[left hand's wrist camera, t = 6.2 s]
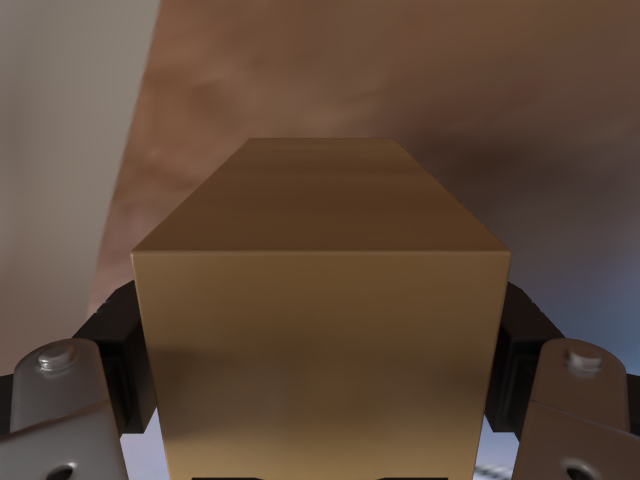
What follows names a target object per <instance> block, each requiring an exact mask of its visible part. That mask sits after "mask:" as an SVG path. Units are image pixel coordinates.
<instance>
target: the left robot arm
mask: <svg viewBox="0 0 640 480" xmlns="http://www.w3.org/2000/svg"><path fill="white" fill-rule="evenodd" d="M156 407H157V405H156V399H155V394H154V388H153V382H152V377H151V371H150V365H149V360H148V354H147V349H146V343H145V337H144V332H143V326H142V320H141V315H140V309H139V303H138V298H137V292H136V287H135V281H134V280H132V281H130V282H129V283H127V284H125V285H123V286H122V287H120V288H118V289H116V290H115V291H114V292H113V293H112V294H111V296H110V297H109V298H108V299H107V300H106V301H105V303H103V304H102V305H101V306H100V307H99V309H98V310H97V313H94V314H93V315H92V316H91V317H90V318H89V319H88V321H87V322H86V323H85V324H84V325H83V326H82V327H81V328H80V329H79V330H78V331H77V333H76V334H75V335H74V336H73V337H72V338H71V339H64V340H59V341H55V342H52V343H49V344H46V345H44V346H42V347H39V348H37V349H35V350H34V351H32V352H30V353H29V354H27V355H26V356H25V357H24V358H22V359H21V360H20V361H19V363H18V364H17V365H16V367H15V369H14V374H10V375H6V376H0V480H129V478H128V474H127V470H126V465H125V461H124V456H123V452H122V448H121V443H120V438H121V436H122V434H144V432H145V430H146V428H147V425H148V423H149V421H150V419H151V417H152V415H153V413H154V411H155V409H156ZM484 414H485V416H486V418H487V420H488V422H489V425H490V427H491V429H492V431H493V432H514V434H515V435H516V437H517V439H518V441H519V448H518V452H517V456H516V461H515V465H514V470H513V474H512V478H511V480H640V376H636V375H631V374H627V373H626V369H625V367H624V365H623V364H622V363H621V361H620V360H619V359H618V358H616V357H615V356H614V355H613V354H611V353H610V352H608V351H606V350H605V349H603V348H601V347H598V346H596V345H594V344H591V343H588V342H585V341H581V340H576V339H568V338H566V337H565V336H564V335H563V334H562V333H561V332H560V331H559V330H558V329H557V328H556V327H555V325H554V324H553V323H552V322H551V321H550V320H549V319H548V318H547V317H546V316H545V314H544V313H543V312H540V309H539V308H538V307H537V306H536V305H535V303H532V300H531V299H530V298H529V297H528V296H527V295H526V294H525V292H524V291H523V290H522V289H520V288H518V287H517V286H515V285H513V284H511V283H510V282H507V288H506V293H505V299H504V305H503V310H502V316H501V322H500V327H499V333H498V339H497V344H496V350H495V356H494V361H493V367H492V373H491V378H490V384H489V390H488V395H487V401H486V407H485V412H484ZM191 480H263V479H259V478H255V477H192V479H191ZM377 480H449V479H448V477H385V478H381V479H377Z"/></svg>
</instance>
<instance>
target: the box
mask: <svg viewBox="0 0 640 480" xmlns="http://www.w3.org/2000/svg"><path fill="white" fill-rule="evenodd" d="M130 258H131V264H132V270H133V275H134V281H135V287H136V292H137V298H138V303H139V309H140V315H141V320H142V326H143V332H144V337H145V343H146V349H147V354H148V360H149V365H150V371H151V377H152V382H153V388H154V394H155V399H156V405H157V411H158V416H159V422H160V428H161V433H162V439H163V444H164V450H165V456H166V461H167V467H168V473H169V478H170V480H191V479H192V477H255V478H259V479H263V480H377V479H381V478H385V477H448V479H449V480H473V474H474V469H475V463H476V457H477V452H478V446H479V440H480V435H481V429H482V424H483V418H484V412H485V407H486V401H487V395H488V390H489V384H490V378H491V373H492V367H493V361H494V356H495V350H496V344H497V339H498V333H499V327H500V322H501V316H502V310H503V305H504V299H505V293H506V288H507V282H508V276H509V271H510V265H511V260H512V252H511V250H510V249H508V248H507V247H506V246H505V245H504V244H503V243H502V242H501V241H500V240H499V239H498V238H497V237H496V236H495V235H494V234H493V233H492V232H491V231H490V230H489V229H488V228H487V227H485V226H484V225H483V224H482V223H481V222H480V221H479V220H478V219H477V218H476V217H475V216H474V215H473V214H472V213H471V212H470V211H469V210H468V209H467V208H466V207H465V206H463V205H462V204H461V203H460V202H459V201H458V200H457V199H456V198H455V197H454V196H453V195H452V194H451V193H450V192H449V191H448V190H447V189H446V188H445V187H444V186H443V185H442V184H440V183H439V182H438V181H437V180H436V179H435V178H434V177H433V176H432V175H431V174H430V173H429V172H428V171H427V170H426V169H425V168H424V167H423V166H422V165H421V164H420V163H418V162H417V161H416V160H415V159H414V158H413V157H412V156H411V155H410V154H409V153H408V152H407V151H406V150H405V149H404V148H403V147H402V146H401V145H400V144H399V143H398V142H397V141H395V140H394V139H393V138H250V139H249V140H247V141H246V142H245V143H244V144H243V145H242V146H241V147H240V148H239V149H238V150H237V151H236V152H235V153H234V154H233V155H232V156H231V157H230V158H228V159H227V160H226V161H225V162H224V163H223V164H222V165H221V166H220V167H219V168H218V169H217V170H216V171H215V172H214V173H213V174H212V175H211V176H209V177H208V178H207V179H206V180H205V181H204V182H203V183H202V184H201V185H200V186H199V187H198V188H197V189H196V190H195V191H194V192H193V193H192V194H191V195H189V196H188V197H187V198H186V199H185V200H184V201H183V202H182V203H181V204H180V205H179V206H178V207H177V208H176V209H175V210H174V211H173V212H172V213H170V214H169V215H168V216H167V217H166V218H165V219H164V220H163V221H162V222H161V223H160V224H159V225H158V226H157V227H156V228H155V229H154V230H153V231H151V232H150V233H149V234H148V235H147V236H146V237H145V238H144V239H143V240H142V241H141V242H140V243H139V244H138V245H137V246H136V247H135V248H134V249H133V250H131V253H130Z"/></svg>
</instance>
